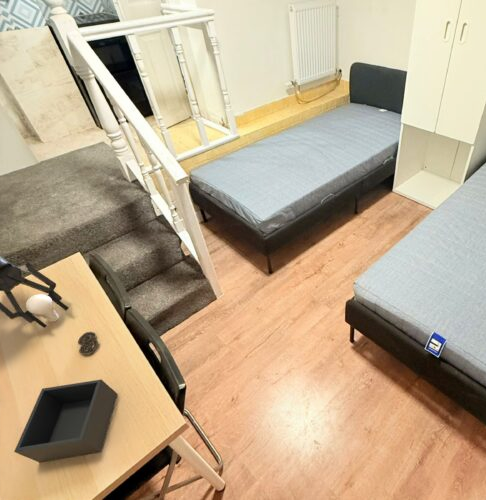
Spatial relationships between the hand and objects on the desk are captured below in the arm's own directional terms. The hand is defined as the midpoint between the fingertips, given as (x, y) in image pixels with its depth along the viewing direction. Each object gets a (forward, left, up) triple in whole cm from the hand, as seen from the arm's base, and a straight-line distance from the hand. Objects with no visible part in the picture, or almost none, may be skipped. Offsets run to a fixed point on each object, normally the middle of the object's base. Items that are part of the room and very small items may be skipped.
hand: (56, 317), depth 99 cm
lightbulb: (-3, +2, -4) cm, 5 cm away
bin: (+16, -32, -3) cm, 36 cm away
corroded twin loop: (+11, -9, -3) cm, 14 cm away
